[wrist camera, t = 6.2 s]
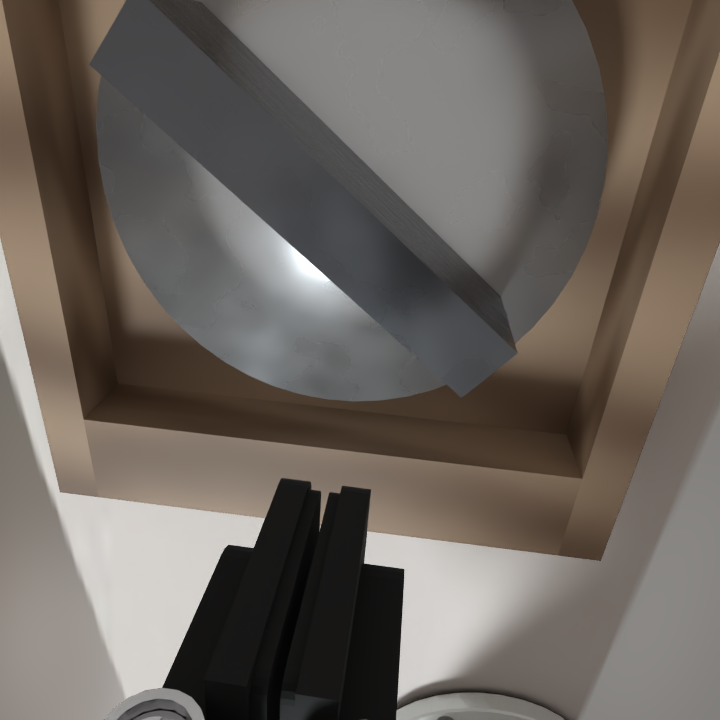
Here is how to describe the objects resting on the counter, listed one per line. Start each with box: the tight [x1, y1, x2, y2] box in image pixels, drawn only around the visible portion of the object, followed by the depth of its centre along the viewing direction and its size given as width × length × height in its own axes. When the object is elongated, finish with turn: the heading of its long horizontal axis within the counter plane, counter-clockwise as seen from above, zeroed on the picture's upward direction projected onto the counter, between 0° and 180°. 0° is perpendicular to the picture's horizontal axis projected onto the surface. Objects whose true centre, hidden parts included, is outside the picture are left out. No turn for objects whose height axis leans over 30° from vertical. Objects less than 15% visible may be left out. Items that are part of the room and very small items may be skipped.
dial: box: [89, 0, 608, 401], centre depth 15 cm, size 14×14×5 cm
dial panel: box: [0, 0, 720, 561], centre depth 17 cm, size 24×20×4 cm
